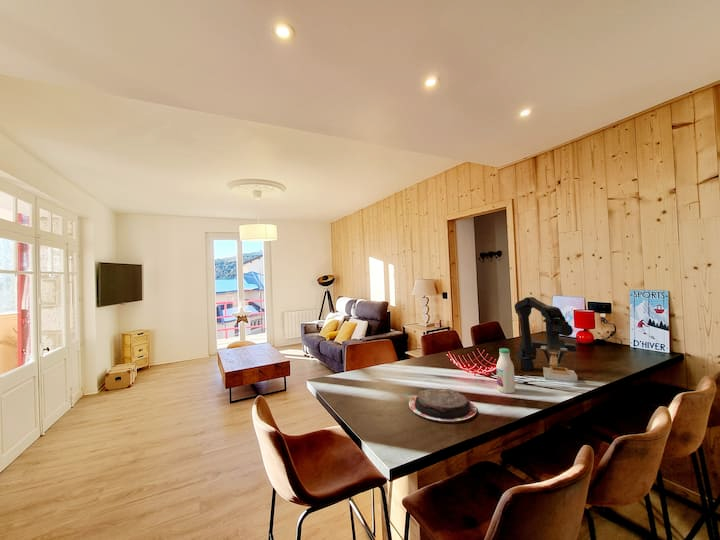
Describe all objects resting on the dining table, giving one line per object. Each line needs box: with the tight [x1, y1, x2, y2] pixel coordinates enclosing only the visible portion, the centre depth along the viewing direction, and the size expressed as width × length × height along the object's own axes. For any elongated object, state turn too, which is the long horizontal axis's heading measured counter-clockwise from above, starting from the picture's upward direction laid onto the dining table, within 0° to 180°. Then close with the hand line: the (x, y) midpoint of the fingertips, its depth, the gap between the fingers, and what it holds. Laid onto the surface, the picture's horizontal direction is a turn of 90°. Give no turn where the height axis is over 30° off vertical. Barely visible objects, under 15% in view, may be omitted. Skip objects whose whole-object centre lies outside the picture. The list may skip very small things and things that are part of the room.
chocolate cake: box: [408, 388, 477, 424], centre depth 123 cm, size 28×28×7 cm
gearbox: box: [542, 365, 579, 384], centre depth 154 cm, size 14×10×5 cm
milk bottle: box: [496, 347, 516, 394], centre depth 140 cm, size 8×8×20 cm
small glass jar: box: [548, 351, 560, 367], centre depth 146 cm, size 4×4×6 cm
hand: (553, 362), depth 146 cm, fingers closed on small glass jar, 4 cm apart
